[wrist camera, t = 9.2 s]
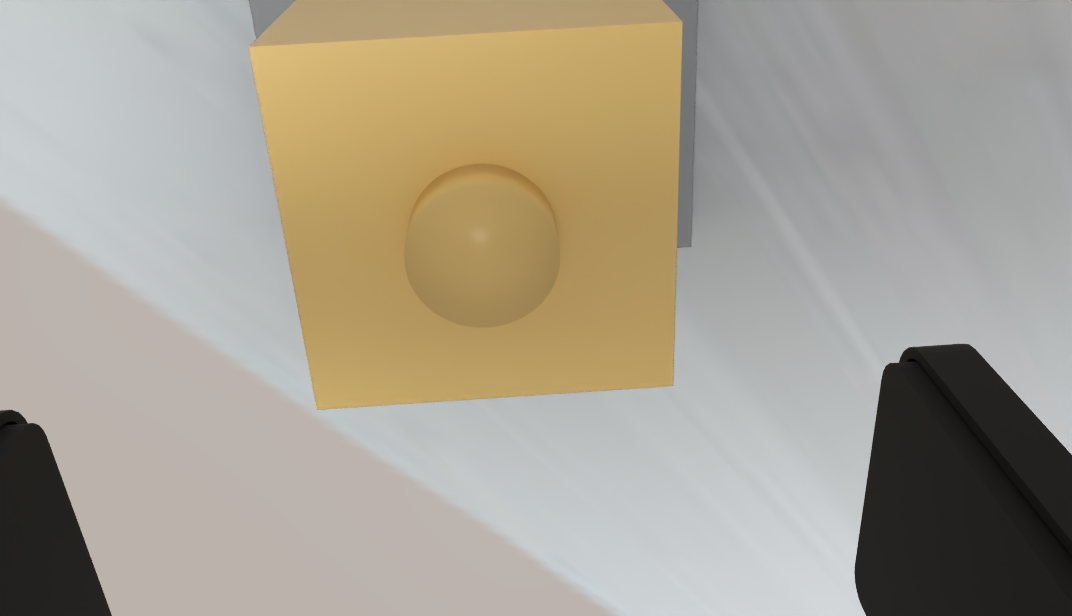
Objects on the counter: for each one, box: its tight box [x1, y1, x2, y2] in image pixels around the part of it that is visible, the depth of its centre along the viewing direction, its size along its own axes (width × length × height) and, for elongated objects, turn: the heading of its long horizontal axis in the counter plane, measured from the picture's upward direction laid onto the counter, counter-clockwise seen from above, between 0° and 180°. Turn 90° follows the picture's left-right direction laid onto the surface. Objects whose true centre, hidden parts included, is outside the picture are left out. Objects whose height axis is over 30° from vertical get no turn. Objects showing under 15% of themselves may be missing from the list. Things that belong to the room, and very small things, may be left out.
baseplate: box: [249, 0, 698, 248], centre depth 26 cm, size 12×12×2 cm
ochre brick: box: [249, 0, 682, 410], centre depth 18 cm, size 6×6×7 cm
